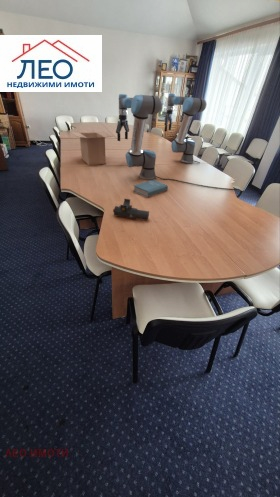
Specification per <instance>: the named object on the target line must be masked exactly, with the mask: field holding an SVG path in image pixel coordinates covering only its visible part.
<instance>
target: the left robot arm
mask: <svg viewBox="0 0 280 497" xmlns="http://www.w3.org/2000/svg"><path fill="white" fill-rule="evenodd" d="M163 104H164V103H163V101H162V99H161V98H160V97H159V96H157V95H149V94H148V95H147V94H135V95H134V96H133V97H128V95H127V94H126V93H119V94H118V120H117V124H116V130H115V133H116V134H117V136H116V137H117V142H121V132H122V129H123V128H124V140H128V139H129V138H128V137H129V132H130V127H129V122H128V109H130V112H131V114H132V117H133V127H132V136H131V144H130V148H129V149H128V152H126V153H125V161H126V164H127V166H128V167H130V168H134V167H141V169H140V172H139V174H138V175H139V178H140V179H142V180H146V181H150V180H156V178H158V179H160V180H163V181H164V180H165V181H173V182H174V181H176V182H178V183H179V182H180V183H183V184H189V185H194V186H199V187H205V188H210V189H211V188H212V189H220V190H232V191H237V190H238V189H236V188H226V187H216V186H208V185H203V184H199V183H193V182H188V181H183V180H178V179H173V178H163V177H159V176H157V174H156V169H155V167H156V158H157V153H156V152H155V151H154V150H150V149H142V146H143V139H144V132H145V128H146V121H147V120H148V119H149V115H157V114H159V113H160V112H161V111H162V109H163Z"/></svg>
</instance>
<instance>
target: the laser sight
mask: <svg viewBox="0 0 280 497" xmlns="http://www.w3.org/2000/svg"><path fill="white" fill-rule="evenodd" d="M112 213H113V215H114V216H115V217H116V216H117V217H119V218H127V219H131V220H132V219H133V220H136V219H137V220H142V221H143V220H145V221H149V217H150V210H149V211H148V210H143V209H138V208H135V207H133V205H131V199H130V198H124V199H123V204H120V205H119V206H118V205H115V206H114V208H113V210H112Z"/></svg>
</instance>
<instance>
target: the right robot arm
mask: <svg viewBox="0 0 280 497" xmlns="http://www.w3.org/2000/svg"><path fill="white" fill-rule="evenodd" d="M167 98H168V99H167V106H166V116H165V120H164V132H165V133H166V132H168V131H171V130H172V125H173V114H174V110H175V106H182V109H181V110H182V113H183V116H182V120H181V123H180V125H179V126H180V127H179V131H178V133H177V136H176V137H175V139H174V140H173V141H171V144H170V145H171V146H170V147H171V151H172V152H173V153H175V154H176V153H182V155H181V157H180V159H179V162H180V163H183V164H187V165H188V164H191V165H192V164H194V163H197V164H200V163H201V162H200V161H197V160H195V159H194V153H195V148H196V141H195V140H191V139H187V138H186V137H187V135H188V131H189V129H190V125H191V122H192V119H193V117H195V115H196V113H203V112H204V111H205V110H206V109H207V105H208V104H207V100H205V98H202V97H192V96H191V97H190V96H178V95H176V93H168V97H167Z"/></svg>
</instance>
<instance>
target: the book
mask: <svg viewBox="0 0 280 497" xmlns="http://www.w3.org/2000/svg"><path fill="white" fill-rule="evenodd" d="M168 187H169V186H168V184H166V183H164V182H160V181H159V180H156V179H153V180H146V181H143V182H140V183H137V184H134V185H133V193H135V194H138V195H140V196H142V197H145V198H150V197H153V196H156V195H159V194H161V193H164V192H167V191H168Z"/></svg>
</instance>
